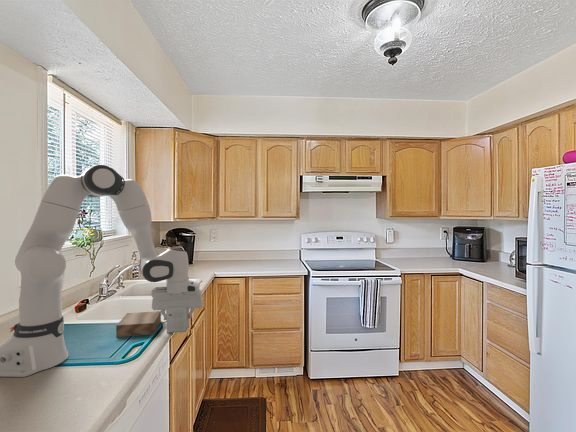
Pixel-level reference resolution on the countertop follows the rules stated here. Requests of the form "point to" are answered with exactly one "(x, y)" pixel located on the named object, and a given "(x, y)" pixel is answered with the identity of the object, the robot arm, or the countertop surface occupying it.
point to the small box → (177, 319)
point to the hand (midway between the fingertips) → (178, 318)
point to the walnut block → (138, 324)
